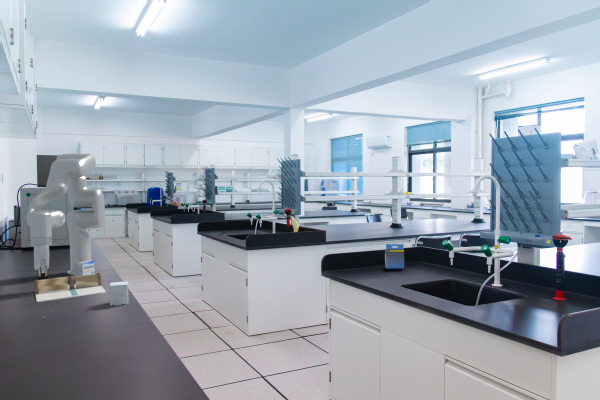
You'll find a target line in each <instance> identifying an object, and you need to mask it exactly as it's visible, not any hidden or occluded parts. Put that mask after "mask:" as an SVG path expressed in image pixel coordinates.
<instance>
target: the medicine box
mask: <svg viewBox="0 0 600 400" xmlns="http://www.w3.org/2000/svg"><path fill="white" fill-rule="evenodd" d="M91 260H92V259H91ZM91 260H88V261H83V262H79V263H75V264H74V269H75V275H74V277H75V276H84V275H93V274H95V272H94V269H95V261H94V260H92V261H91ZM74 283H76V279H75V278H74Z"/></svg>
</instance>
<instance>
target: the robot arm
mask: <svg viewBox="0 0 600 400" xmlns="http://www.w3.org/2000/svg"><path fill="white" fill-rule="evenodd" d="M95 168H96V158H95V156H94V155H92V154H91V153H63V154H59V155H57V156H56V159H55V160H54V161H53V162H52V164H51V165H50V169H49V173H48V178H47V182H46V187H45V188H44V189H43V190H41V191H39V193H38V194H36V196H34V197H33V199H32V200H31V201H30V203H29V206H28V210H27V215H26V222H27V225H28V226H29V227H30V247H33V264H34V265H33V266H34V270H35V271H37V270H38V277H37V278H38V279H37V280H45V279H49V278H48V273H47V272H48V269H49V268H50V246H52V245H53V232H52V231H53V230H52V228H60V227H62V226H63V225H64V224H65V222H66V223H67V224H66V225H67V227H68V235H69V236H68V237H69V258H70V269H69V270H67V271H66V273H67V275H69V276H75V269H74V264H75V263H79V262H83V261H88V260H91V261H93V260H92V238H91V234H90V233H89V231H87V229H88V230H89V229H90V230H91V229H101V228H103V227H104V226H105V224H106V208H105V207H106V206H105V195H104V193H103V191H102V190H101V189H100V188H97V187H88V181H87V177H86V176H87V175H89V174H90V173H92V172H93V171H94V170H95ZM67 193H68V202H69V205H70V207H73V208H92V209H75V210H71V211H69V212H68V213H67V215H66V214H65V213H64V212H63V211H61V210H59V209H54V210H53V209H52V210H51V209H50V210H48V209H46V210H45V209H43V207H44V206H45V205H46V204H47V203H48V204H49V202H51V201H54V200H56V199H58V198H62V197H63V196H65V195H66V194H67ZM42 209H43V210H42ZM95 272H96V268H94V273H95Z"/></svg>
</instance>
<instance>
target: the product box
mask: <svg viewBox="0 0 600 400" xmlns="http://www.w3.org/2000/svg"><path fill="white" fill-rule="evenodd" d="M122 304H125V305H129V283H128V280H126V281H116V282H110V283H109V305H110V306H111V307H113V306H112V305H115V306H123V305H122Z"/></svg>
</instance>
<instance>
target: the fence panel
mask: <svg viewBox="0 0 600 400" xmlns="http://www.w3.org/2000/svg"><path fill="white" fill-rule="evenodd" d="M68 285H69V276H66V277H65V276H64V277H54V278H48V279H45V280H38V279H34V280H33V293H34V294H37V293H41V292H48V291H56V290H64V289H68Z"/></svg>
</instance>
